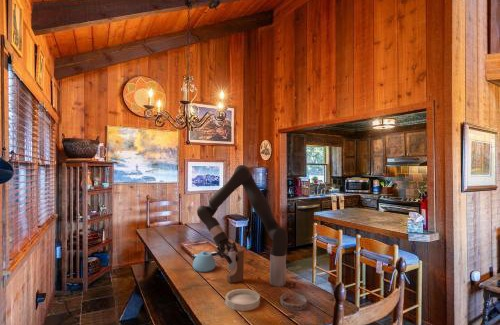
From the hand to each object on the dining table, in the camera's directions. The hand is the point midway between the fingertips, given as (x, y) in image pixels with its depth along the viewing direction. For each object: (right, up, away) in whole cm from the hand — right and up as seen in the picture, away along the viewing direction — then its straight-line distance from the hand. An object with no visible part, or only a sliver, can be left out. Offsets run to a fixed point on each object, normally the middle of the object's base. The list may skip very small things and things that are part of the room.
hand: (234, 261), depth 152 cm
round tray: (+5, -18, -8) cm, 20 cm away
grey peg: (-2, -4, +1) cm, 5 cm away
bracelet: (+30, -19, -8) cm, 37 cm away
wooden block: (-1, -18, +19) cm, 26 cm away
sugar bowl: (-22, -18, +38) cm, 48 cm away
